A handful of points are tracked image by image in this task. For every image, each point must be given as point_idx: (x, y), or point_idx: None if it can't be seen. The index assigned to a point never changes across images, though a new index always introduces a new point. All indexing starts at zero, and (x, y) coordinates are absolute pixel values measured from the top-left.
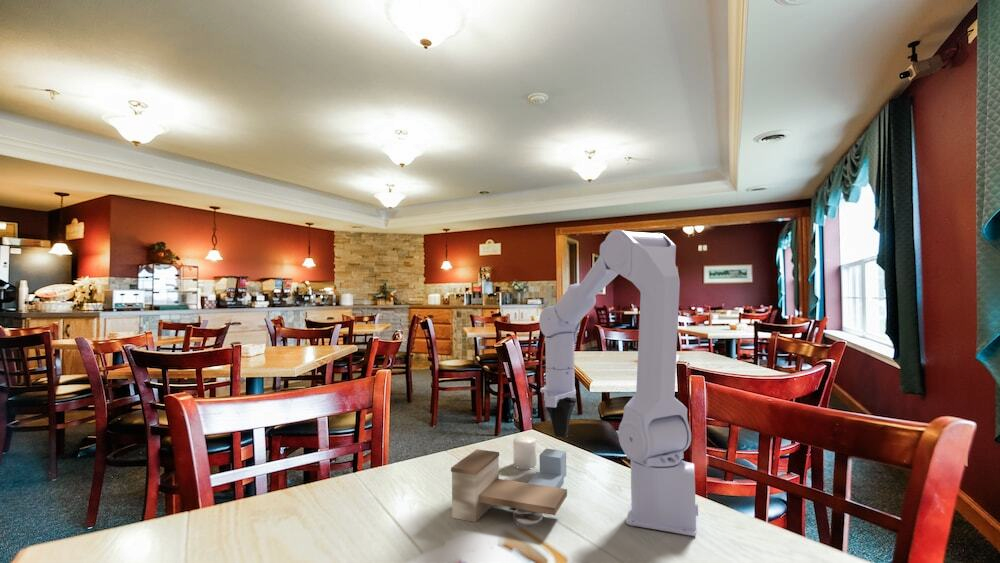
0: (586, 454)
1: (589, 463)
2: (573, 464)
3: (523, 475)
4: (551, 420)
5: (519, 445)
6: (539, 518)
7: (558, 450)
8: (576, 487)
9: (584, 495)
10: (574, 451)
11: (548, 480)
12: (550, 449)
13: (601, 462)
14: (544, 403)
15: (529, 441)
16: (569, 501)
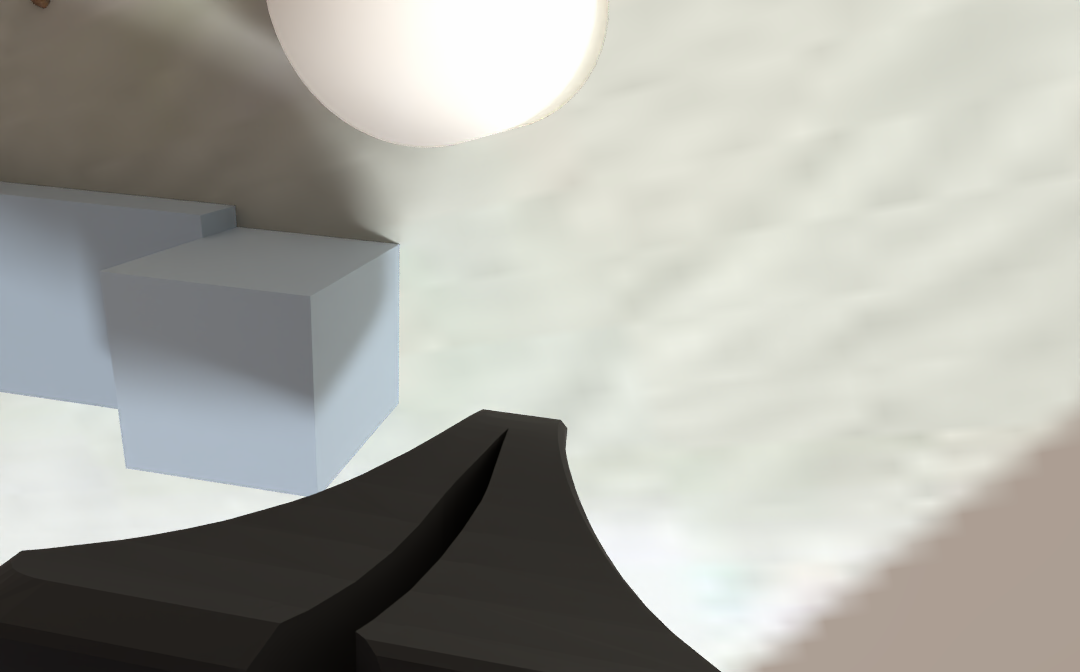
0: (923, 520)
1: (689, 547)
2: (634, 433)
3: (261, 72)
4: (358, 476)
5: None
6: None
7: (303, 429)
8: (219, 483)
9: (134, 531)
10: (1004, 414)
11: (88, 333)
12: (305, 348)
13: (734, 628)
14: (3, 573)
15: (385, 63)
16: (24, 459)
